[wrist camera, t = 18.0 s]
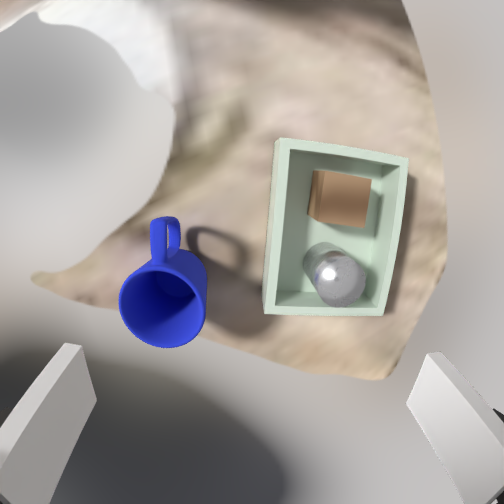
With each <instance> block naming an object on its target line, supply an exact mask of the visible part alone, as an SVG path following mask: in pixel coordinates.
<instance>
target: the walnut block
mask: <svg viewBox="0 0 504 504" xmlns="http://www.w3.org/2000/svg"><path fill="white" fill-rule="evenodd" d="M371 183H372V179H368V178H363V177H358V176H353V175H347V174H342V173H336V172H330V171H321V170H313V174H312V182H311V189H310V197H309V204H308V211H307V215H309V216H310V217H312V218H313V219H315V220H316V221H318V222H324V223H331V224H339V225H346V226H353V227H361V228H364V227H365V221H366V215H367V209H368V203H369V196H370V190H371Z"/></svg>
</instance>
